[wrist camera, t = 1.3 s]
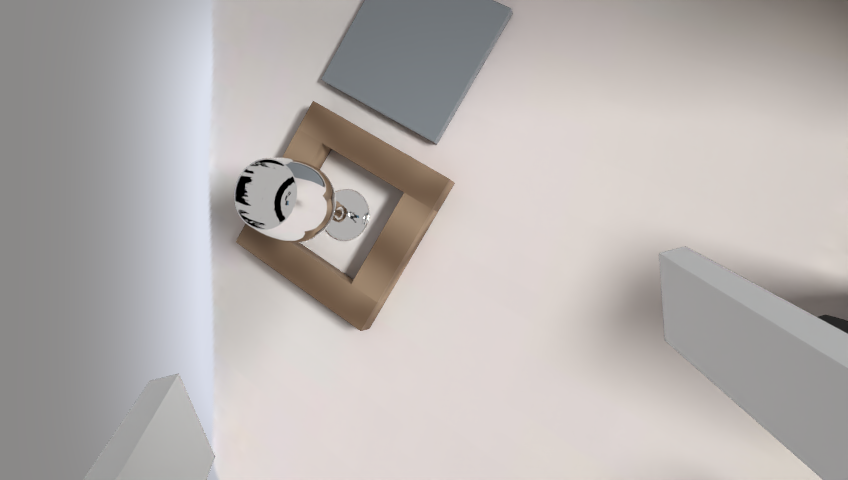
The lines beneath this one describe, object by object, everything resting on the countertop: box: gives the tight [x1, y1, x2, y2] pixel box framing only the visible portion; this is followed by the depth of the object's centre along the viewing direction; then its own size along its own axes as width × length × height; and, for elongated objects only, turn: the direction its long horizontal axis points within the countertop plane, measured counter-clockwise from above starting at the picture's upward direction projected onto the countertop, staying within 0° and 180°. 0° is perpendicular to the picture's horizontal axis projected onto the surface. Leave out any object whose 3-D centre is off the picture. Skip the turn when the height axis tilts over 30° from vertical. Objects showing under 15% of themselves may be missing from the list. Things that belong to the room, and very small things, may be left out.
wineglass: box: [234, 158, 370, 242], centre depth 39 cm, size 6×6×12 cm
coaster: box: [321, 0, 513, 144], centre depth 43 cm, size 12×12×1 cm
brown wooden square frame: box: [236, 101, 455, 331], centre depth 44 cm, size 14×14×2 cm
